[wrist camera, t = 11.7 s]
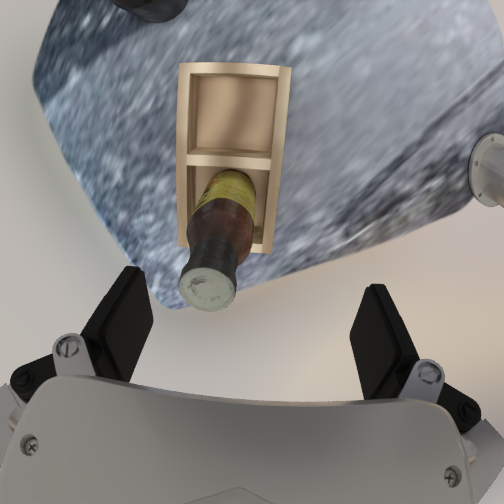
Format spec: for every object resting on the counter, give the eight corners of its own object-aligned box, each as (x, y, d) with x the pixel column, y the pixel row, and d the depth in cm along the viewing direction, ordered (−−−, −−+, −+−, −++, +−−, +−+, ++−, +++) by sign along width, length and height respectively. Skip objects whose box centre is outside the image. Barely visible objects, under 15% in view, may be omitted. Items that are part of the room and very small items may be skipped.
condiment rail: (286, 72, 29) (291, 67, 24) (270, 231, 40) (271, 253, 35) (192, 68, 29) (179, 63, 24) (189, 225, 40) (178, 246, 35)
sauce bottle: (209, 165, 35) (157, 238, 17) (259, 169, 35) (257, 248, 18) (206, 212, 38) (164, 315, 21) (253, 217, 38) (246, 325, 21)
